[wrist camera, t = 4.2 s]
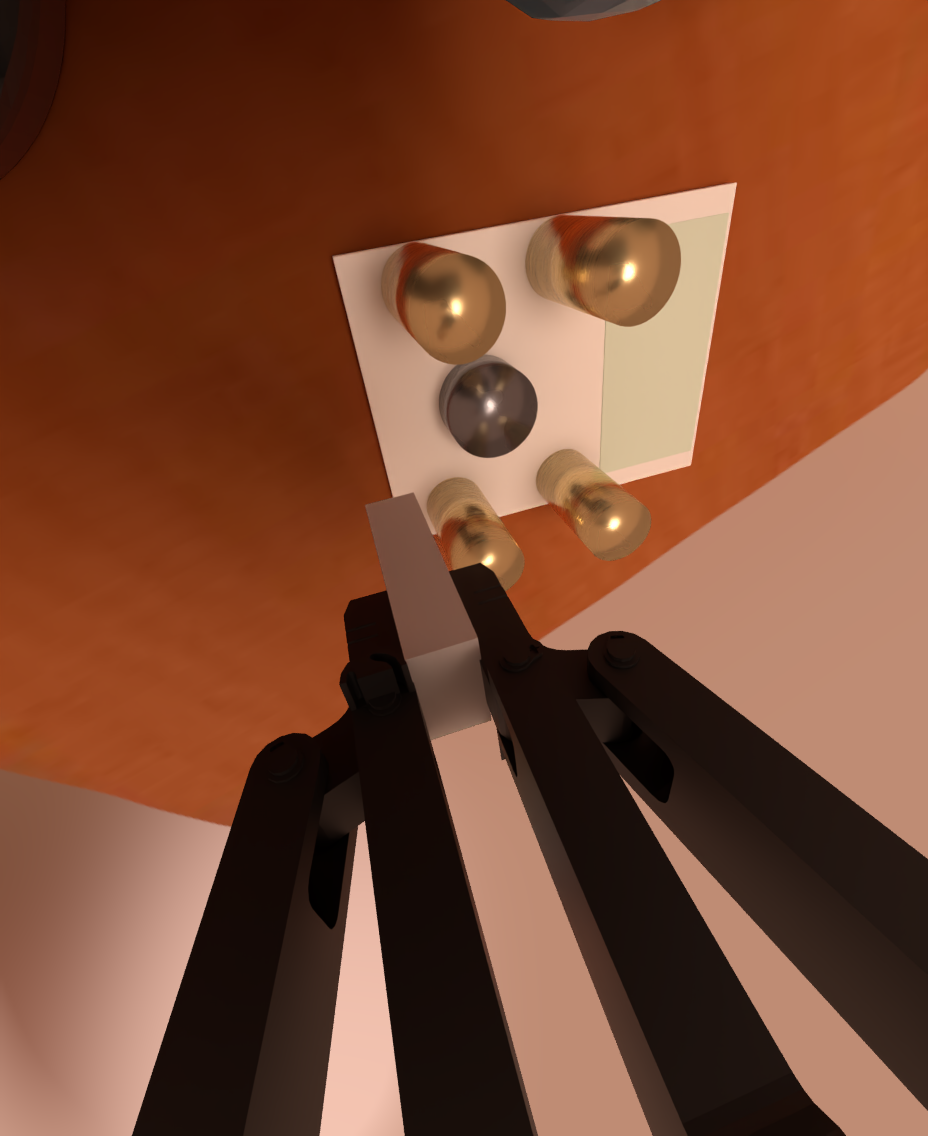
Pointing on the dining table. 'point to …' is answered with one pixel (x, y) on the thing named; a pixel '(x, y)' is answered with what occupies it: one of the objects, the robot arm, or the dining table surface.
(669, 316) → the board
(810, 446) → the dining table surface
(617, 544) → the cylinder
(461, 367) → the dark metal puck
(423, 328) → the cylinder
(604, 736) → the robot arm
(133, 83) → the dining table surface
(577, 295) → the cylinder
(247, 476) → the dining table surface
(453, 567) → the cylinder
